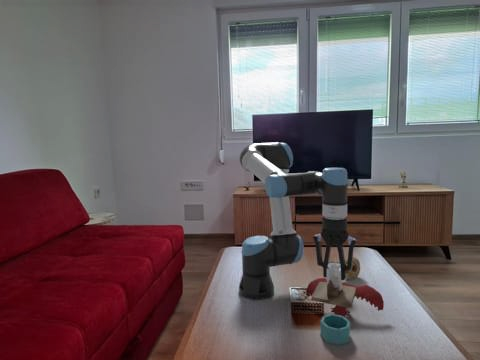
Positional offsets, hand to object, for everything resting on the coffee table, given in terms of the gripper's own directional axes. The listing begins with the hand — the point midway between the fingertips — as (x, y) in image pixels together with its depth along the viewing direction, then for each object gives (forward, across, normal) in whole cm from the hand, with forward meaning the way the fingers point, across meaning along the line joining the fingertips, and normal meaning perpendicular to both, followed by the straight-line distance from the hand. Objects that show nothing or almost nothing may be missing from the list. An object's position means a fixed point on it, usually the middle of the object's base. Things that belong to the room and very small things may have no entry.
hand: (334, 287), depth 103 cm
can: (+17, -5, +32) cm, 37 cm away
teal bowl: (+17, 0, 0) cm, 17 cm away
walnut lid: (+3, 0, 0) cm, 3 cm away
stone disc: (+17, 0, +48) cm, 50 cm away
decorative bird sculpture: (+17, 0, +16) cm, 24 cm away
